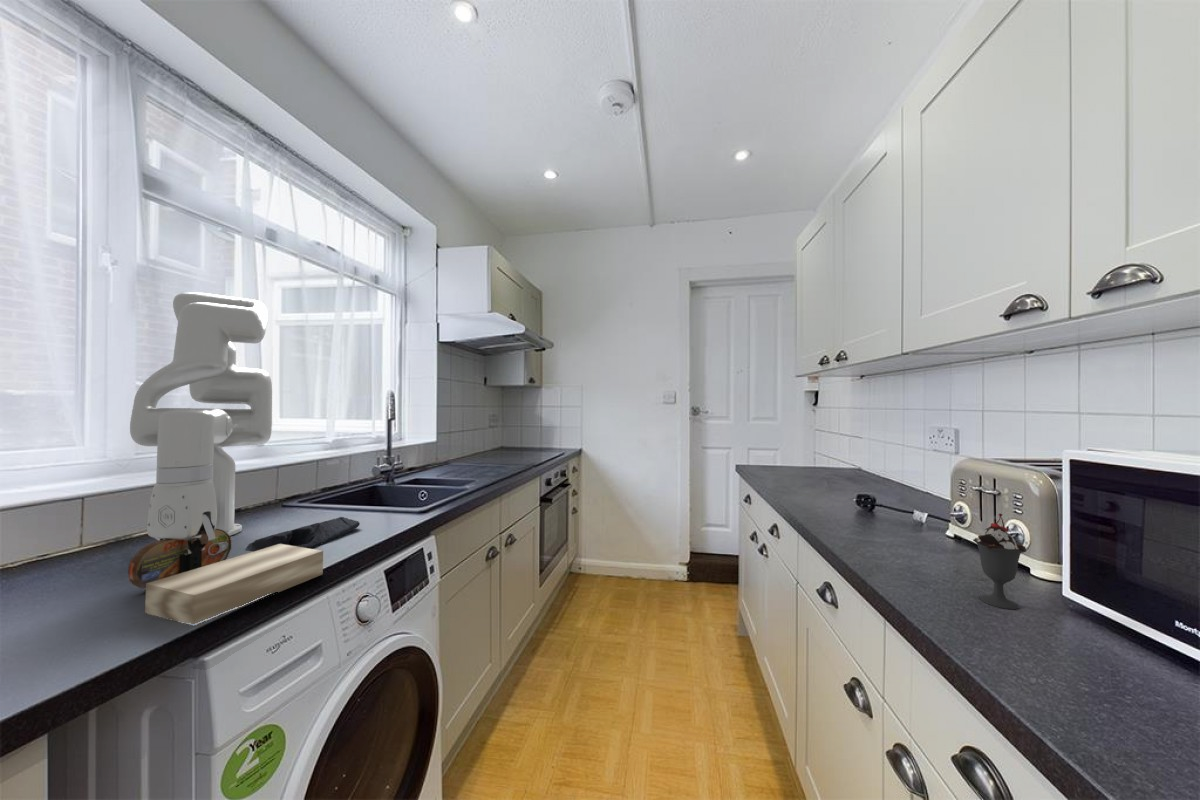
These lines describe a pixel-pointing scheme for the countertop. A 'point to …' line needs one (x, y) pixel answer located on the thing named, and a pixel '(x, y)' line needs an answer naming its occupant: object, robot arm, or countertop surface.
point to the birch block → (231, 582)
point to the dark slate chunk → (307, 534)
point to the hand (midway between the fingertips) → (183, 572)
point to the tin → (172, 558)
